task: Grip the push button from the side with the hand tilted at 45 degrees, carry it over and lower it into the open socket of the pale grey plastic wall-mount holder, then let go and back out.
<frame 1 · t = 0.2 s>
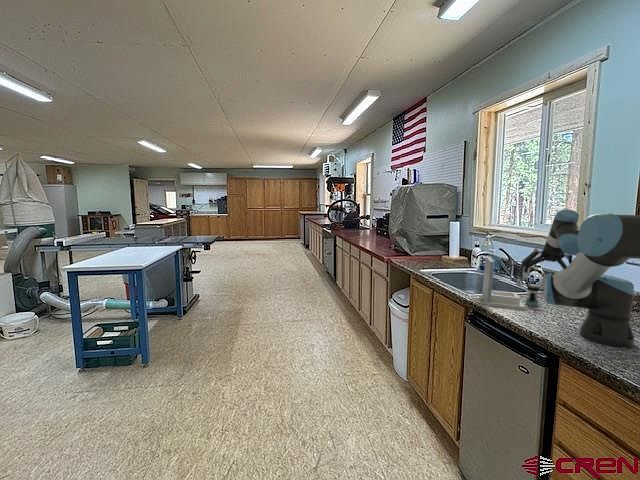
hand: (542, 279, 151), 15 cm above the counter, tool tilted 30°, fingers open, 13 cm apart
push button: (533, 305, 162), on the counter
holder: (502, 302, 164), on the counter
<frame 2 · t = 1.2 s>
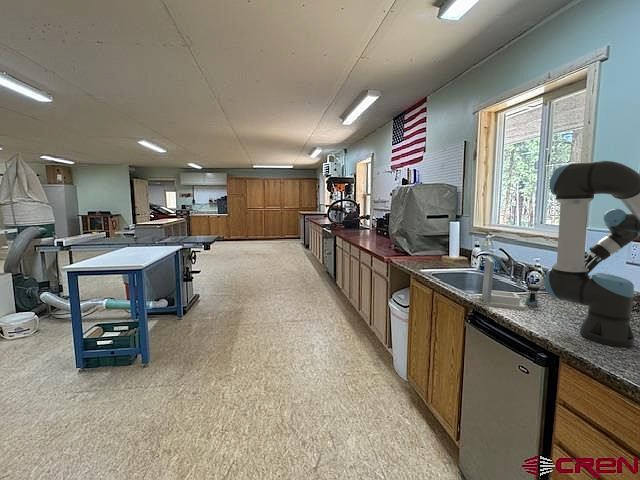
hand: (561, 278, 157), 15 cm above the counter, tool tilted 45°, fingers open, 13 cm apart
nothing on the counter moved.
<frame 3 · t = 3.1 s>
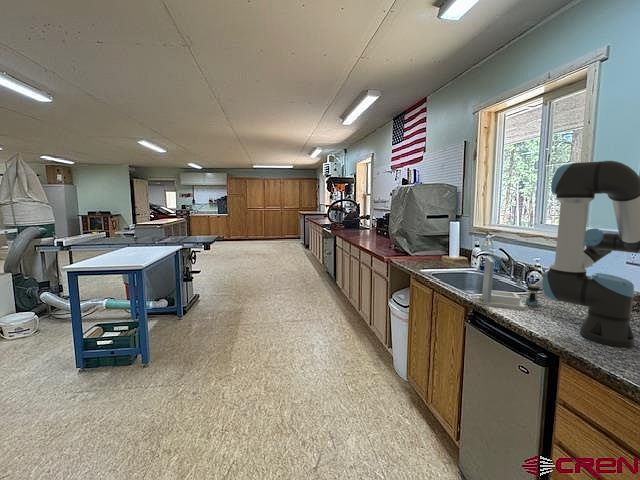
hand: (538, 290, 161), 7 cm above the counter, tool tilted 45°, fingers open, 13 cm apart
nothing on the counter moved.
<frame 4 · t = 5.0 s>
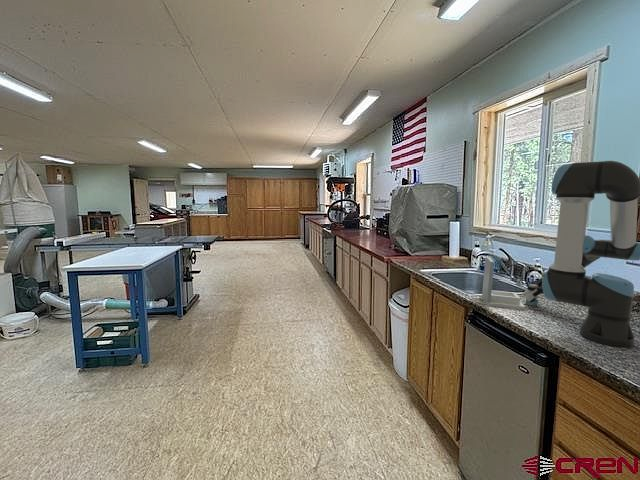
hand: (525, 297, 162), 3 cm above the counter, tool tilted 45°, fingers closed on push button, 5 cm apart
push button: (533, 305, 162), on the counter, touching gripper
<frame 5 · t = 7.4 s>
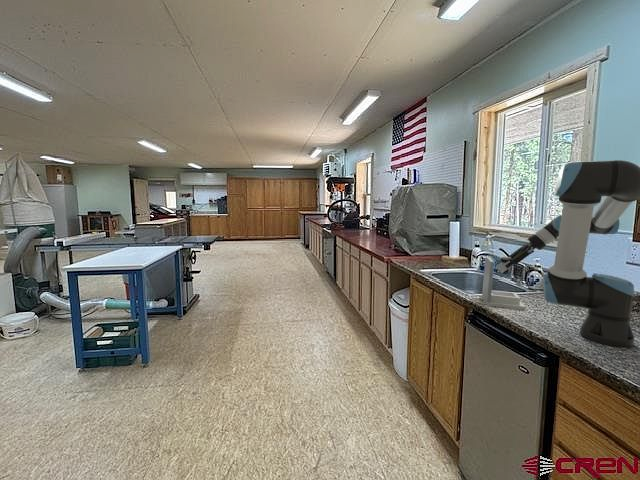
hand: (499, 269, 164), 16 cm above the counter, tool tilted 45°, fingers closed on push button, 5 cm apart
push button: (506, 277, 163), point 13 cm above the counter, touching gripper
when the fingers open (6 cm above the counter, at t = 10.2 s): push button drops 1 cm, resting on holder.
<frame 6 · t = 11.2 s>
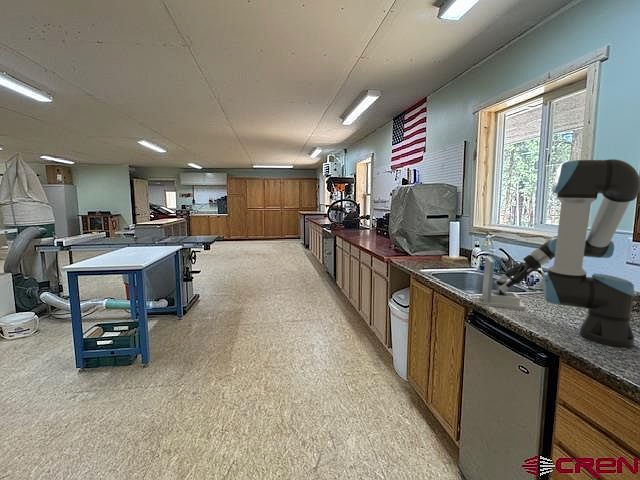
hand: (498, 287, 164), 8 cm above the counter, tool tilted 45°, fingers open, 13 cm apart
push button: (502, 300, 164), point 1 cm above the counter, touching holder
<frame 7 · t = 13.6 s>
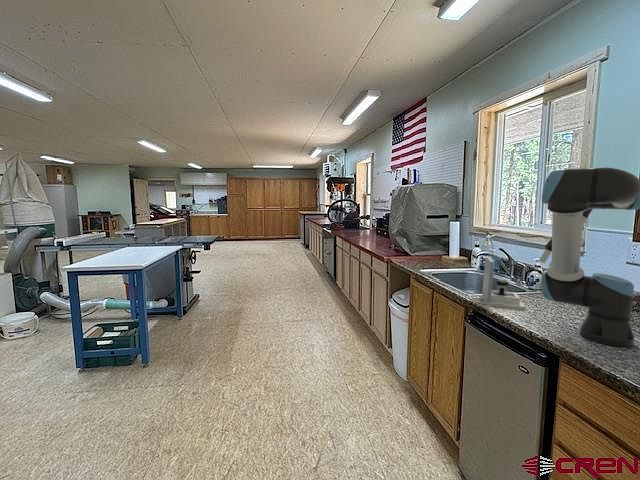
hand: (546, 264, 154), 21 cm above the counter, tool tilted 25°, fingers open, 13 cm apart
nothing on the counter moved.
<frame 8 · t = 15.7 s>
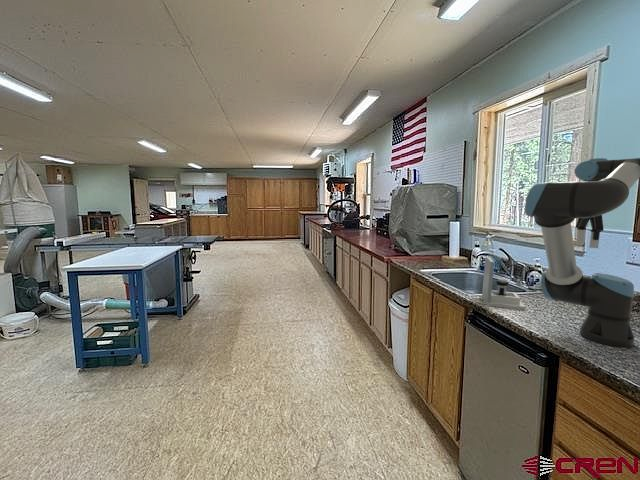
hand: (586, 246, 141), 32 cm above the counter, tool pointing down, fingers open, 13 cm apart
nothing on the counter moved.
at the end: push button 0.1 cm off-centre on the holder, point 1.3 cm above the holder's base; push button tilted 0°; the gripper is holding nothing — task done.
